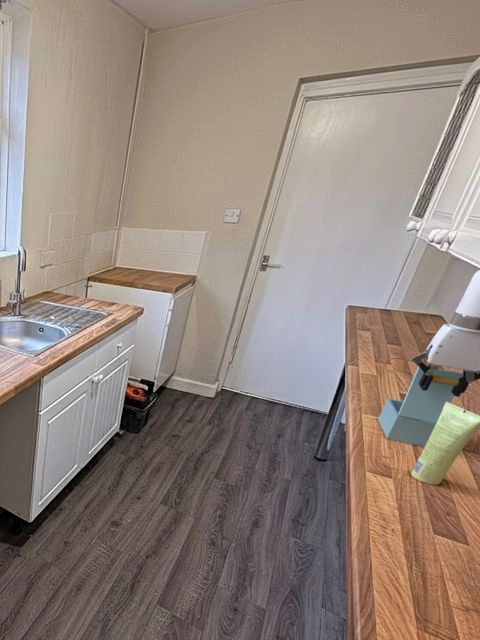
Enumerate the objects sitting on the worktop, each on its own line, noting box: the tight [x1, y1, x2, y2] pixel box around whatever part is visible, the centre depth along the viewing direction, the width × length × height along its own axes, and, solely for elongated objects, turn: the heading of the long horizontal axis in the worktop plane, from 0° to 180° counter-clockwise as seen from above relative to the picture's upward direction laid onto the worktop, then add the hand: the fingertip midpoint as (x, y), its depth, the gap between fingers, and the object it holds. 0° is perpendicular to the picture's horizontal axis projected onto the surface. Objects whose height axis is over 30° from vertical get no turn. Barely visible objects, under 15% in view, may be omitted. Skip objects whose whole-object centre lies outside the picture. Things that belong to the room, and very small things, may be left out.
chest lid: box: [398, 365, 463, 423], centre depth 107 cm, size 14×8×5 cm
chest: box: [377, 398, 436, 448], centre depth 117 cm, size 13×8×8 cm, turn 146°
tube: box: [410, 402, 480, 486], centre depth 96 cm, size 6×5×20 cm
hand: (439, 390), depth 104 cm, fingers closed on chest lid, 5 cm apart
